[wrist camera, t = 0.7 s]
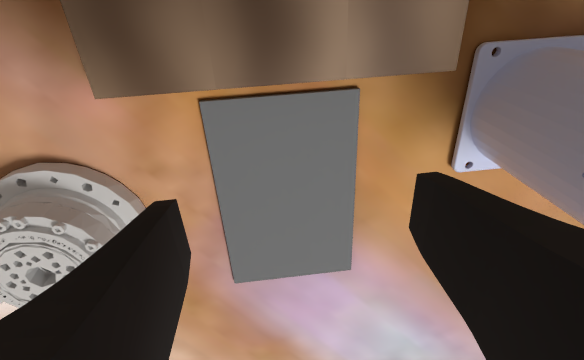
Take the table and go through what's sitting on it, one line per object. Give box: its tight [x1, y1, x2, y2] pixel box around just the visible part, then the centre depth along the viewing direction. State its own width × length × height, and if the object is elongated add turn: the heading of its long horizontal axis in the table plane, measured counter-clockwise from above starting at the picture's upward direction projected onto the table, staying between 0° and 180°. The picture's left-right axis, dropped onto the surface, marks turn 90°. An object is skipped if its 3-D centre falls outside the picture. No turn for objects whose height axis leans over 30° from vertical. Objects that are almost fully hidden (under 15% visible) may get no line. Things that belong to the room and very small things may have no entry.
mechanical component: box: [0, 163, 146, 308], centre depth 20 cm, size 10×4×10 cm
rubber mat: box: [199, 88, 360, 283], centre depth 22 cm, size 9×14×1 cm, turn 3°
